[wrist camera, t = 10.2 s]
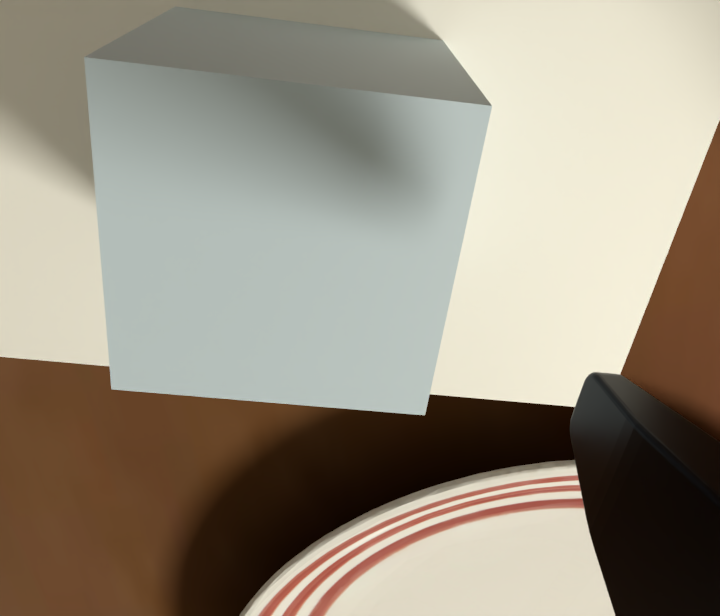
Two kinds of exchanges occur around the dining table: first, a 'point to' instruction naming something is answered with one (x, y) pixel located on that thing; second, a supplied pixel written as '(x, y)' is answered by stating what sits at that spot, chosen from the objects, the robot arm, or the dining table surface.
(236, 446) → the dining table surface
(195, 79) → the light gray cube
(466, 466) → the dining table surface
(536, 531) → the dinner plate
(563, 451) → the dining table surface
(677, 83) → the painted board
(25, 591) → the dining table surface
